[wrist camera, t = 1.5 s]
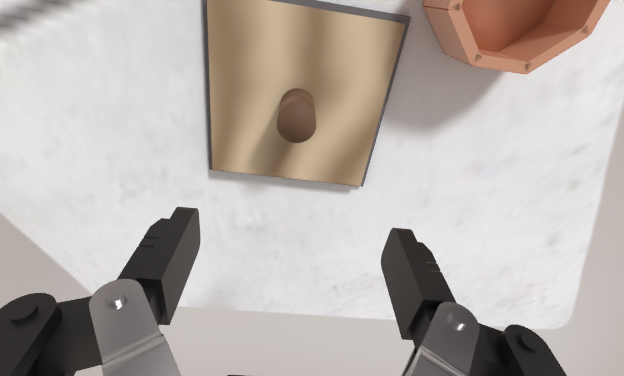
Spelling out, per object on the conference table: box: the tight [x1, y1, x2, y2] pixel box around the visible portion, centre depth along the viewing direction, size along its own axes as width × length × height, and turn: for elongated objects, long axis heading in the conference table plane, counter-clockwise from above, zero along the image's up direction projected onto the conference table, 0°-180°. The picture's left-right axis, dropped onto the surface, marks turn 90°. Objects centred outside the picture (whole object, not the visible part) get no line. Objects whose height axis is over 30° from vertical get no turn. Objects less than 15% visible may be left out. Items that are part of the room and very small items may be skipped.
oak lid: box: [207, 0, 406, 186], centre depth 25 cm, size 15×15×5 cm
